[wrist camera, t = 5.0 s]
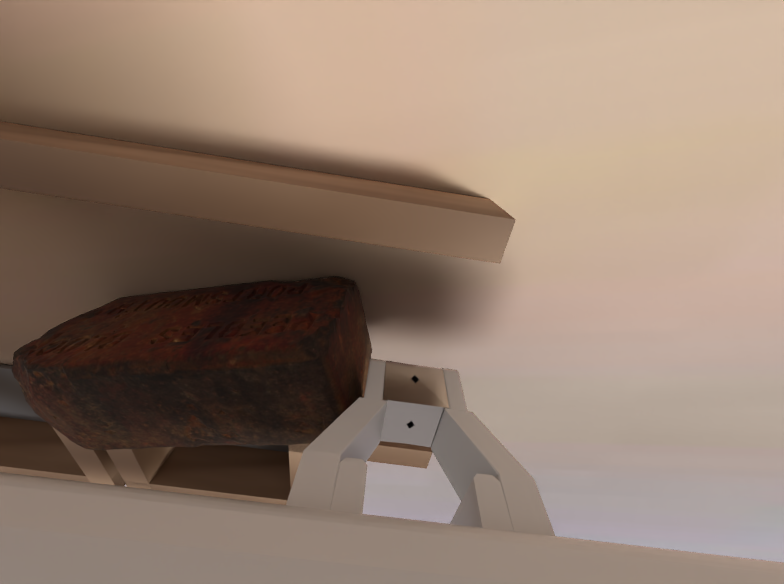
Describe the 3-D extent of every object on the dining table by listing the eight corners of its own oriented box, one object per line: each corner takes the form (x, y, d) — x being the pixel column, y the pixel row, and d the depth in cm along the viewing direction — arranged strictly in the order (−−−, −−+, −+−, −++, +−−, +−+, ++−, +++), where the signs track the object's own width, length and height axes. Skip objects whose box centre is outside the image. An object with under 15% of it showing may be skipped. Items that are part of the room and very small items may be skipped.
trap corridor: (-375, 61, 8) (-726, 30, 6) (489, 199, 9) (522, 225, 7) (-43, 420, 16) (-128, 475, 14) (405, 476, 17) (406, 537, 15)
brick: (355, 263, 11) (324, 344, 7) (374, 345, 13) (358, 447, 9) (108, 293, 12) (-47, 377, 8) (158, 364, 14) (55, 461, 10)
